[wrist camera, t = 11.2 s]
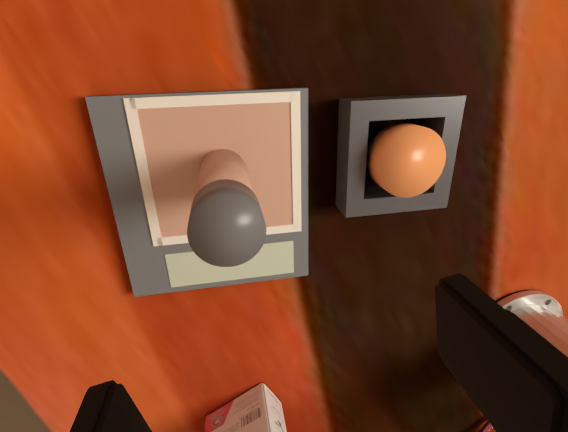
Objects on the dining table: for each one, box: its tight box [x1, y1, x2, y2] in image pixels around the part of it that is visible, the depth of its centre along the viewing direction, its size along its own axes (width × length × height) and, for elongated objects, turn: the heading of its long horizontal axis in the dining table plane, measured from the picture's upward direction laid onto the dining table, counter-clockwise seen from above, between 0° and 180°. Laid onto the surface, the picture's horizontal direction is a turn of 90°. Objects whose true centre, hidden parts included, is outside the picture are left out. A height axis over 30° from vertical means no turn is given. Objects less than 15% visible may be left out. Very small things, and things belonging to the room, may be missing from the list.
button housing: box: [335, 94, 466, 218], centre depth 31 cm, size 10×10×3 cm
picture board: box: [85, 88, 308, 297], centre depth 30 cm, size 17×18×1 cm
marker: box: [187, 149, 266, 267], centre depth 24 cm, size 4×4×12 cm
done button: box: [366, 122, 446, 198], centre depth 29 cm, size 6×6×2 cm
